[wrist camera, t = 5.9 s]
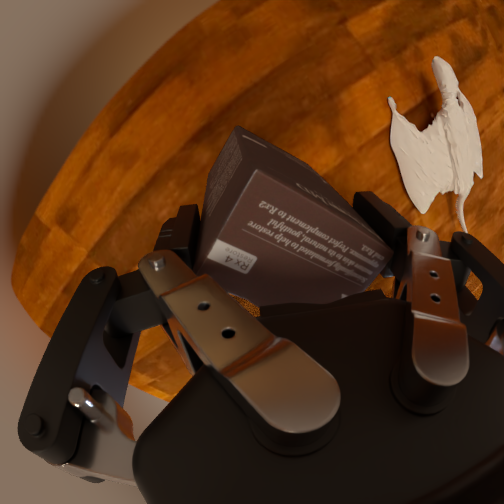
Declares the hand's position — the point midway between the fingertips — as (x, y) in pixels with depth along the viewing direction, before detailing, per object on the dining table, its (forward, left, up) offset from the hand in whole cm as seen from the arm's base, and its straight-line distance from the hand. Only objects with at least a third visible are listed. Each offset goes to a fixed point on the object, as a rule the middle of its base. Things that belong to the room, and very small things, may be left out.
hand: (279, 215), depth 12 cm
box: (0, 0, -8) cm, 8 cm away
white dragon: (+16, +1, -8) cm, 18 cm away
